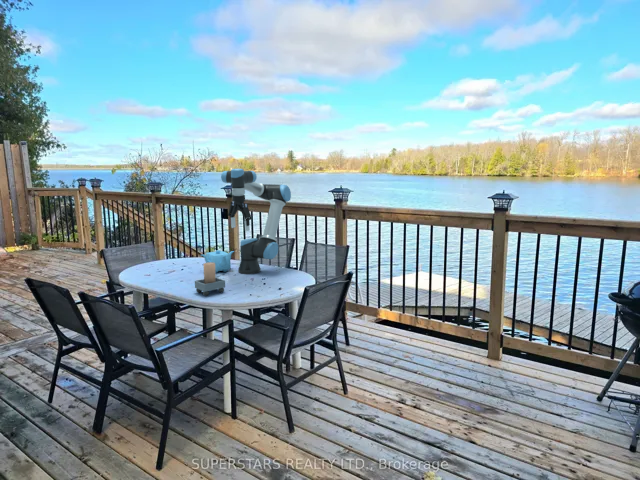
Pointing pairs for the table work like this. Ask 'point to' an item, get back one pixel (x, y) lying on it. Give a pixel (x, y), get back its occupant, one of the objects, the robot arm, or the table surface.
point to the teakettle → (219, 260)
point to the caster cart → (209, 286)
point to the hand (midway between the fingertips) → (240, 229)
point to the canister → (209, 272)
